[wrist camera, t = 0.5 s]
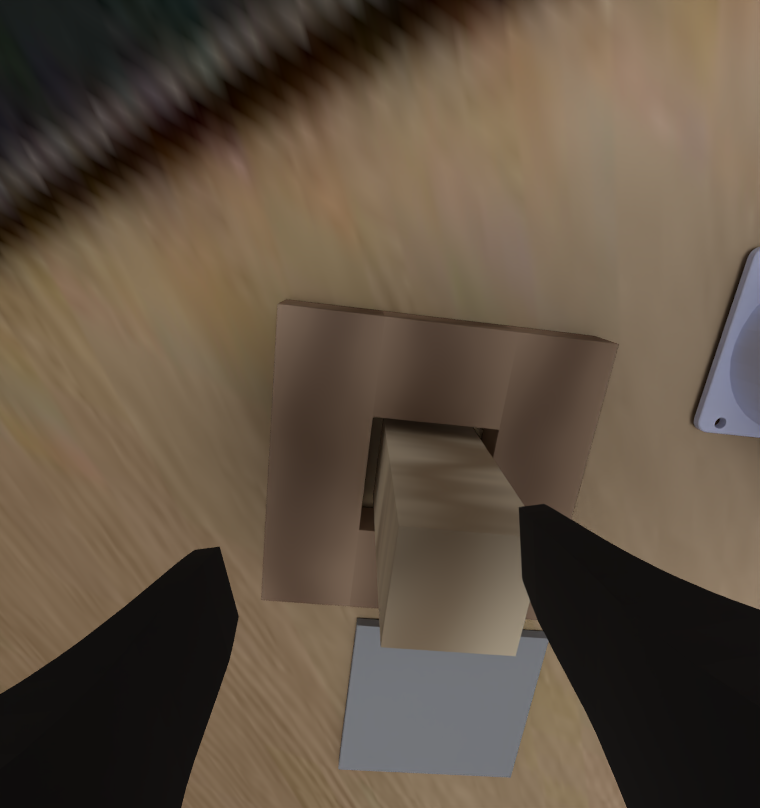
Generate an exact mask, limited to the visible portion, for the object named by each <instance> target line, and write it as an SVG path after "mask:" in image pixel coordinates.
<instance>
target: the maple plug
mask: <svg viewBox="0 0 760 808" xmlns="http://www.w3.org/2000/svg"><path fill="white" fill-rule="evenodd" d="M373 505H374V525H375V545H376V565H377V585H378V605H379V625H380V645H381V647H383V648H398V649H413V650H428V651H444V652H459V653H474V654H489V655H504V656H516V653H517V649H518V645H519V641H520V637H521V633H522V629H523V626H524V622H525V618H526V614H527V610H528V606H529V602H530V600H529V597H528V594H527V591H526V589H525V586H524V583H523V580H522V567H521V546H520V525H519V507H523V506H524V505H523V503H522V502H521V500H520V498H519V497H518V495H517V494H516V492H515V491H514V489H513V488H512V486H511V485H510V483H509V482H508V480H507V479H506V477H505V476H504V474H503V473H502V471H501V470H500V468H499V467H498V465H497V464H496V462H495V461H494V459H493V458H492V456H491V455H490V453H489V452H488V450H487V449H486V447H485V446H484V444H483V443H482V441H481V439H480V438H479V436H478V435H477V433H476V432H475V430H474V429H473V427H468V426H458V425H448V424H438V423H428V422H419V421H409V420H399V419H389V418H383V423H382V431H381V439H380V446H379V454H378V462H377V470H376V477H375V485H374V493H373Z"/></svg>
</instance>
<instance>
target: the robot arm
mask: <svg viewBox="0 0 760 808" xmlns="http://www.w3.org/2000/svg"><path fill="white" fill-rule="evenodd" d="M719 418H720V421H719V423H718V424H716V425H715V422H716V420H717V419H719ZM694 425H695V427H696V428H697V429H699V430H701V431H704V432H710V433H719V434H729V435H738V436H748V437H757V438H760V247H757V248H755V249H754V250H753V251H752V252H751V253H750V254H749V256H748V258H747V261H746V264H745V267H744V270H743V273H742V276H741V279H740V282H739V285H738V288H737V291H736V294H735V297H734V300H733V303H732V306H731V309H730V312H729V315H728V318H727V321H726V324H725V327H724V330H723V333H722V336H721V339H720V342H719V345H718V348H717V351H716V354H715V357H714V360H713V363H712V366H711V369H710V372H709V375H708V378H707V381H706V384H705V387H704V390H703V393H702V396H701V399H700V402H699V405H698V408H697V411H696V414H695V417H694ZM519 525H520V546H521V567H522V580H523V583H524V586H525V589H526V591H527V594H528V597H529V600H530V602H531V605H532V607H533V610H534V612H535V615H536V618H537V620H538V622H539V624H540V626H541V628H542V629H543V631H544V633H545V635H546V637H547V639H548V641H549V643H550V645H551V647H552V649H553V651H554V653H555V654H556V656H557V658H558V660H559V662H560V664H561V666H562V668H563V670H564V671H565V673H566V675H567V677H568V679H569V681H570V683H571V685H572V687H573V688H574V690H575V692H576V694H577V696H578V698H579V700H580V702H581V704H582V705H583V707H584V709H585V711H586V713H587V715H588V717H589V719H590V722H591V724H592V726H593V728H594V730H595V732H596V734H597V736H598V739H599V741H600V744H601V746H602V748H603V751H604V753H605V756H606V758H607V760H608V763H609V765H610V767H611V770H612V772H613V775H614V777H615V779H616V782H617V784H618V787H619V789H620V792H621V794H622V797H623V799H624V802H625V804H626V807H627V808H760V610H759V609H756V608H753V607H751V606H748V605H745V604H742V603H739V602H737V601H734V600H731V599H728V598H726V597H723V596H721V595H718V594H716V593H713V592H711V591H708V590H706V589H704V588H701V587H699V586H697V585H694V584H692V583H690V582H687V581H685V580H683V579H680V578H678V577H676V576H674V575H671V574H669V573H667V572H665V571H663V570H661V569H659V568H657V567H655V566H653V565H651V564H649V563H647V562H645V561H643V560H641V559H639V558H637V557H635V556H633V555H631V554H629V553H628V552H626V551H624V550H622V549H620V548H619V547H617V546H615V545H613V544H611V543H610V542H608V541H606V540H604V539H603V538H601V537H599V536H598V535H596V534H594V533H593V532H591V531H589V530H588V529H586V528H584V527H583V526H581V525H579V524H578V523H576V522H574V521H573V520H571V519H569V518H568V517H566V516H565V515H563V514H561V513H560V512H558V511H556V510H555V509H553V508H551V507H549V506H548V505H546V504H538V505H531V506H523V507H519ZM238 617H239V616H238V612H237V609H236V605H235V601H234V598H233V594H232V590H231V587H230V583H229V579H228V576H227V572H226V568H225V565H224V561H223V557H222V554H221V550H220V547H214V548H206V549H199V550H194V551H193V552H191V553H190V554H188V555H187V556H186V557H184V558H183V559H182V560H180V561H179V562H178V563H177V564H175V565H174V566H173V567H172V568H171V569H169V570H168V571H167V572H166V573H165V574H163V575H162V576H161V577H160V578H159V579H157V580H156V581H155V582H154V583H153V584H151V585H150V586H149V587H148V588H147V589H145V590H144V591H143V592H142V593H141V594H139V595H138V596H137V597H136V598H135V599H133V600H132V601H131V602H130V603H129V604H127V605H126V606H125V607H124V608H122V609H121V610H120V611H118V612H117V613H116V614H115V615H113V616H112V617H111V618H109V619H108V620H107V621H106V622H104V623H103V624H102V625H100V626H99V627H98V628H97V629H95V630H94V631H93V632H91V633H90V634H89V635H88V636H86V637H85V638H84V639H82V640H81V641H80V642H78V643H77V644H76V645H74V646H73V647H71V648H70V649H69V650H67V651H66V652H64V653H63V654H61V655H60V656H59V657H57V658H56V659H54V660H53V661H51V662H50V663H48V664H47V665H45V666H44V667H42V668H41V669H39V670H38V671H36V672H35V673H33V674H32V675H30V676H29V677H27V678H26V679H24V680H23V681H21V682H20V683H18V684H16V685H15V686H13V687H11V688H10V689H8V690H6V691H5V692H3V693H1V694H0V808H181V806H182V802H183V798H184V794H185V790H186V786H187V783H188V780H189V776H190V773H191V770H192V767H193V763H194V760H195V757H196V755H197V752H198V749H199V746H200V743H201V740H202V738H203V735H204V732H205V729H206V726H207V723H208V720H209V718H210V715H211V712H212V709H213V706H214V703H215V701H216V698H217V695H218V692H219V689H220V686H221V683H222V680H223V677H224V674H225V672H226V669H227V665H228V662H229V659H230V655H231V651H232V647H233V642H234V637H235V632H236V627H237V622H238Z"/></svg>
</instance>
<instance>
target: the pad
mask: <svg viewBox="0 0 760 808" xmlns="http://www.w3.org/2000/svg"><path fill="white" fill-rule="evenodd" d="M547 644H548V639H547V637H546V635H545V633H544V631H532V630H522V633H521V637H520V641H519V645H518V649H517V653H516V656H504V655H489V654H474V653H459V652H444V651H428V650H413V649H398V648H383V647H381V645H380V625H379V620H376V619H362V618H357V625H356V632H355V640H354V648H353V655H352V663H351V671H350V679H349V686H348V694H347V702H346V709H345V717H344V725H343V733H342V740H341V748H340V756H339V769H343V770H364V771H386V772H407V773H428V774H449V775H471V776H492V777H511V774H512V770H513V767H514V763H515V759H516V756H517V752H518V749H519V745H520V741H521V738H522V734H523V731H524V727H525V723H526V720H527V716H528V713H529V709H530V706H531V702H532V698H533V695H534V691H535V688H536V684H537V680H538V677H539V673H540V670H541V666H542V662H543V659H544V655H545V652H546V648H547Z"/></svg>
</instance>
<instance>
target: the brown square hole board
mask: <svg viewBox="0 0 760 808" xmlns="http://www.w3.org/2000/svg"><path fill="white" fill-rule="evenodd" d="M618 346H619V344H617V343H614V342H611V341H608V340H605V339H602V338H599V337H596V336H590V335H581V334H573V333H565V332H556V331H548V330H539V329H531V328H522V327H514V326H506V325H497V324H489V323H480V322H472V321H463V320H455V319H446V318H438V317H430V316H421V315H413V314H404V313H396V312H387V311H379V310H371V309H362V308H354V307H345V306H337V305H328V304H320V303H312V302H303V301H295V300H284V301H282V302H280V303H278V308H277V325H276V343H275V361H274V379H273V397H272V415H271V432H270V450H269V468H268V486H267V504H266V521H265V539H264V557H263V575H262V593H261V600H269V601H282V602H296V603H310V604H324V605H338V606H352V607H365V608H379V605H378V585H377V565H376V545H375V525H374V508H368V507H362V500H363V492H364V484H365V476H366V468H367V459H368V451H369V443H370V435H371V427H372V419H373V417H379V418H389V419H399V420H409V421H419V422H428V423H438V424H448V425H458V426H468V427H477V428H484V430H483V435H482V440H481V441H482V443H483V444H484V446H485V447H486V449H487V450H488V452H489V453H490V455H491V456H492V458H493V459H494V461H495V462H496V464H497V465H498V467H499V468H500V470H501V471H502V473H503V474H504V476H505V477H506V479H507V480H508V482H509V483H510V485H511V486H512V488H513V489H514V491H515V492H516V494H517V495H518V497H519V498H520V500H521V502H522V503H523V505H524V506H531V505H538V504H546V505H548V506H549V507H551V508H553V509H555V510H556V511H558V512H560V513H561V514H563V515H565V516H566V517H568V518H569V519H572V515H573V512H574V508H575V504H576V501H577V497H578V493H579V489H580V486H581V482H582V478H583V475H584V471H585V467H586V464H587V460H588V456H589V453H590V449H591V445H592V442H593V438H594V434H595V430H596V427H597V423H598V419H599V416H600V412H601V408H602V405H603V401H604V397H605V394H606V390H607V386H608V382H609V379H610V375H611V371H612V368H613V364H614V360H615V357H616V353H617V349H618ZM525 619H531V620H537V618H536V615H535V612H534V610H533V607H532V605H531V602H529V606H528V610H527V614H526V618H525Z"/></svg>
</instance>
